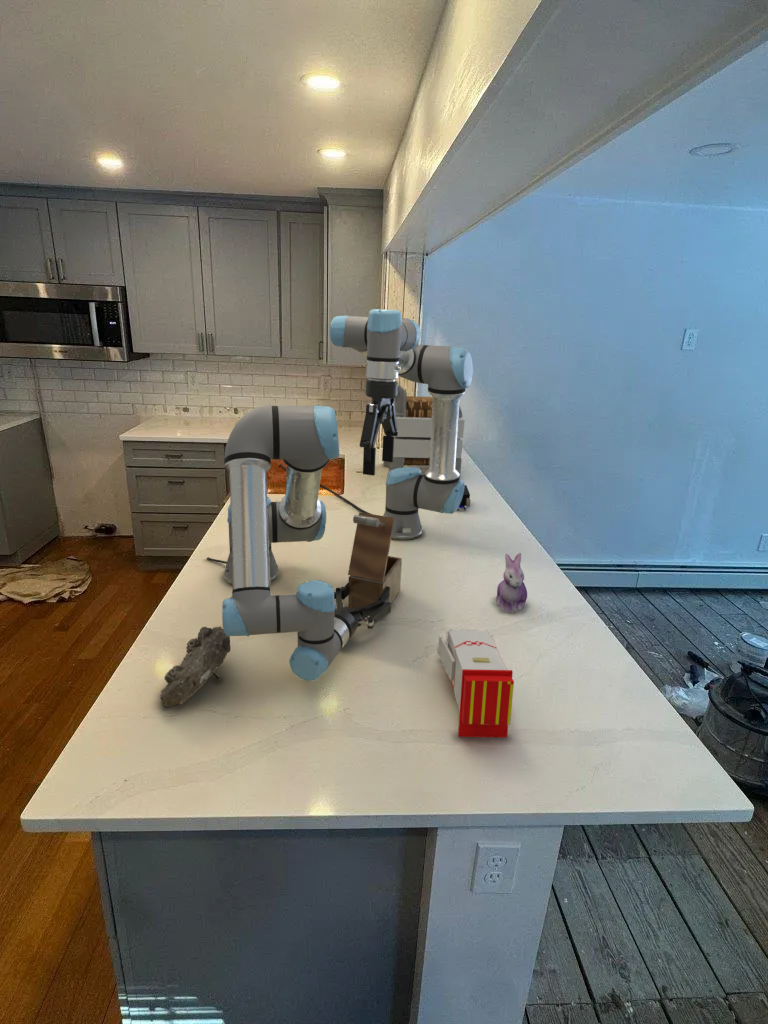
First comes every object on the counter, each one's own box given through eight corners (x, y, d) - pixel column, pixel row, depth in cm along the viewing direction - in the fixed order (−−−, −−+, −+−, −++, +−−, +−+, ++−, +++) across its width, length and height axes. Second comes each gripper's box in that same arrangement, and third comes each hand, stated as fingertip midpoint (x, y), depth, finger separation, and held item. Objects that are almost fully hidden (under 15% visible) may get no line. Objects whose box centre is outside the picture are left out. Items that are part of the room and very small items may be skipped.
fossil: (184, 629, 128) (231, 598, 123) (214, 657, 131) (261, 628, 126) (138, 700, 109) (191, 667, 104) (173, 731, 112) (227, 701, 107)
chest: (369, 583, 162) (370, 552, 158) (400, 590, 159) (401, 558, 155) (348, 610, 148) (348, 577, 144) (381, 618, 145) (383, 583, 141)
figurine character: (470, 515, 225) (465, 499, 238) (472, 498, 221) (467, 483, 235) (453, 515, 224) (449, 499, 238) (455, 497, 221) (451, 482, 234)
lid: (360, 512, 145) (348, 508, 137) (395, 518, 143) (385, 514, 134) (349, 574, 144) (336, 574, 136) (383, 581, 142) (372, 582, 133)
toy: (488, 613, 130) (523, 677, 101) (484, 667, 133) (517, 744, 104) (435, 612, 130) (455, 676, 101) (432, 666, 133) (451, 743, 103)
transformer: (382, 463, 289) (386, 382, 275) (445, 464, 293) (451, 384, 279) (390, 482, 257) (394, 392, 243) (460, 483, 261) (468, 394, 247)
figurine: (509, 617, 148) (516, 565, 143) (485, 599, 156) (491, 550, 151) (537, 610, 152) (544, 559, 147) (512, 593, 161) (519, 544, 156)
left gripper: (291, 634, 132) (331, 592, 152) (380, 655, 125) (409, 609, 145) (291, 606, 129) (331, 567, 149) (381, 626, 123) (411, 582, 143)
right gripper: (379, 386, 120) (375, 483, 127) (412, 375, 142) (407, 458, 149) (346, 383, 122) (344, 478, 129) (384, 373, 144) (381, 454, 151)
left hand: (370, 587), depth 147 cm, fingers closed on chest, 9 cm apart
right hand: (378, 467), depth 139 cm, fingers open, 13 cm apart
